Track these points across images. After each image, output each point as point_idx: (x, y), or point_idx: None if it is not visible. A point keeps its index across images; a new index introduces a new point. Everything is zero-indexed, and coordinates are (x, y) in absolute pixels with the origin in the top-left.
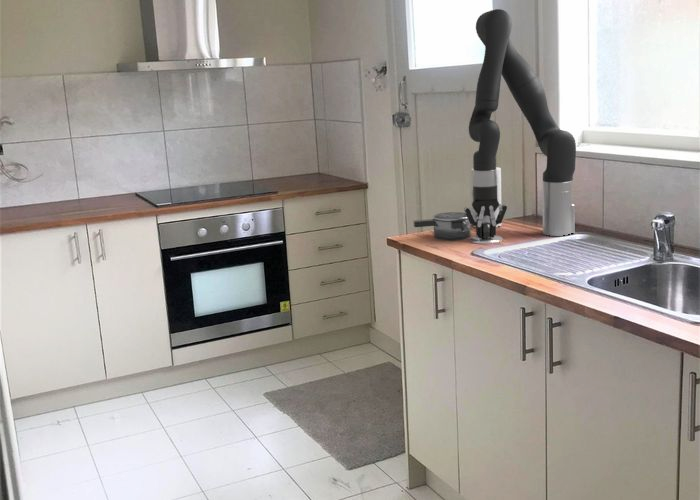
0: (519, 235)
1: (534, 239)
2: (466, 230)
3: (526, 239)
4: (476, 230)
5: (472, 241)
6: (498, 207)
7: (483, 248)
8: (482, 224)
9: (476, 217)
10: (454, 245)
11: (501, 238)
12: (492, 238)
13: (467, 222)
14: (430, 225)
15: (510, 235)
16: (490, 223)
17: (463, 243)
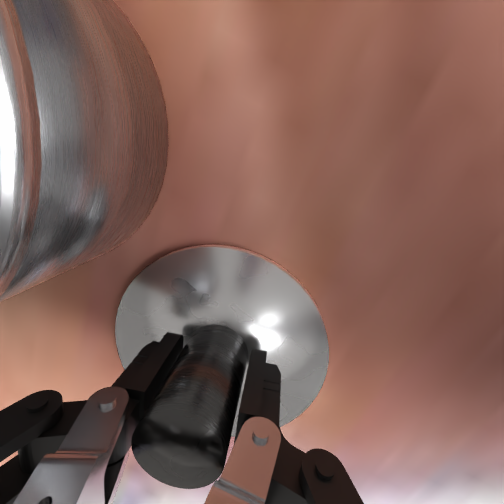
0: (500, 327)
1: (500, 462)
2: (74, 266)
3: (456, 440)
4: (125, 376)
5: (123, 363)
6: None
7: (149, 476)
8: (139, 460)
9: (46, 460)
10: (25, 362)
11: (308, 394)
12: None
13: (24, 284)
14: None
15: (442, 296)
16: (218, 476)
17: (77, 346)
